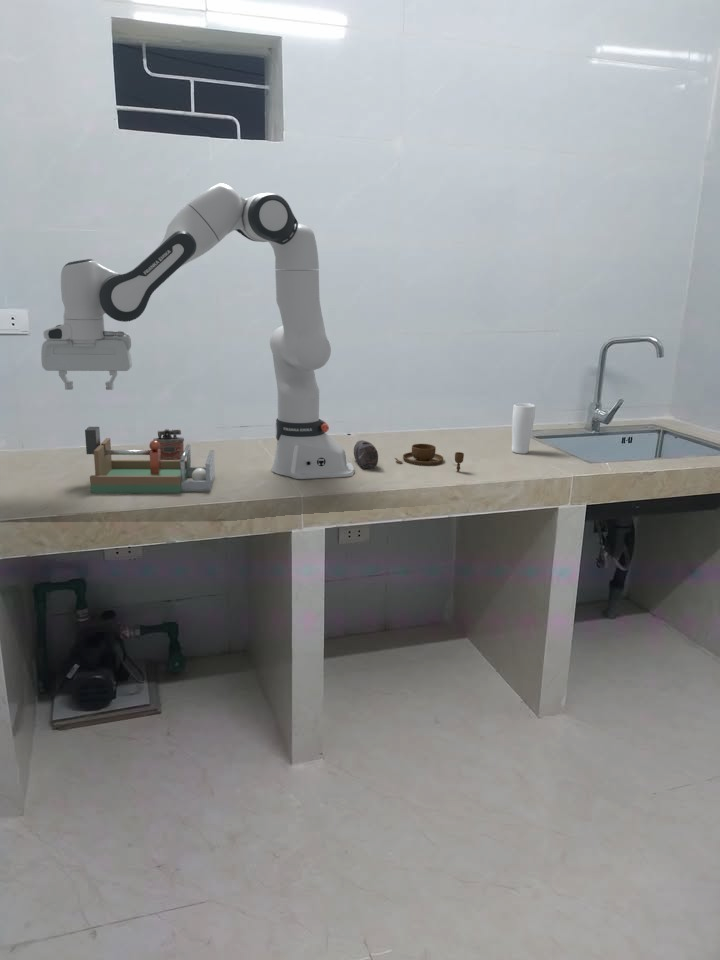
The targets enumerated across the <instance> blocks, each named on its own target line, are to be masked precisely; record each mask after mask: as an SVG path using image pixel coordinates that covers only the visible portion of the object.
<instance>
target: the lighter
mask: <svg viewBox="0 0 720 960" xmlns="http://www.w3.org/2000/svg"><path fill="white" fill-rule="evenodd" d="M177 435H182V431H181V429H169V428H165V429H164V430H157V437H155V438H153V440H156V441H158V442H159V443H160V448H159V449H160V453H161V460H180V458H181V456H182V454H183V452H184V450H185V448H184V441H185V437H180V436H177ZM153 440H152V441H153Z"/></svg>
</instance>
